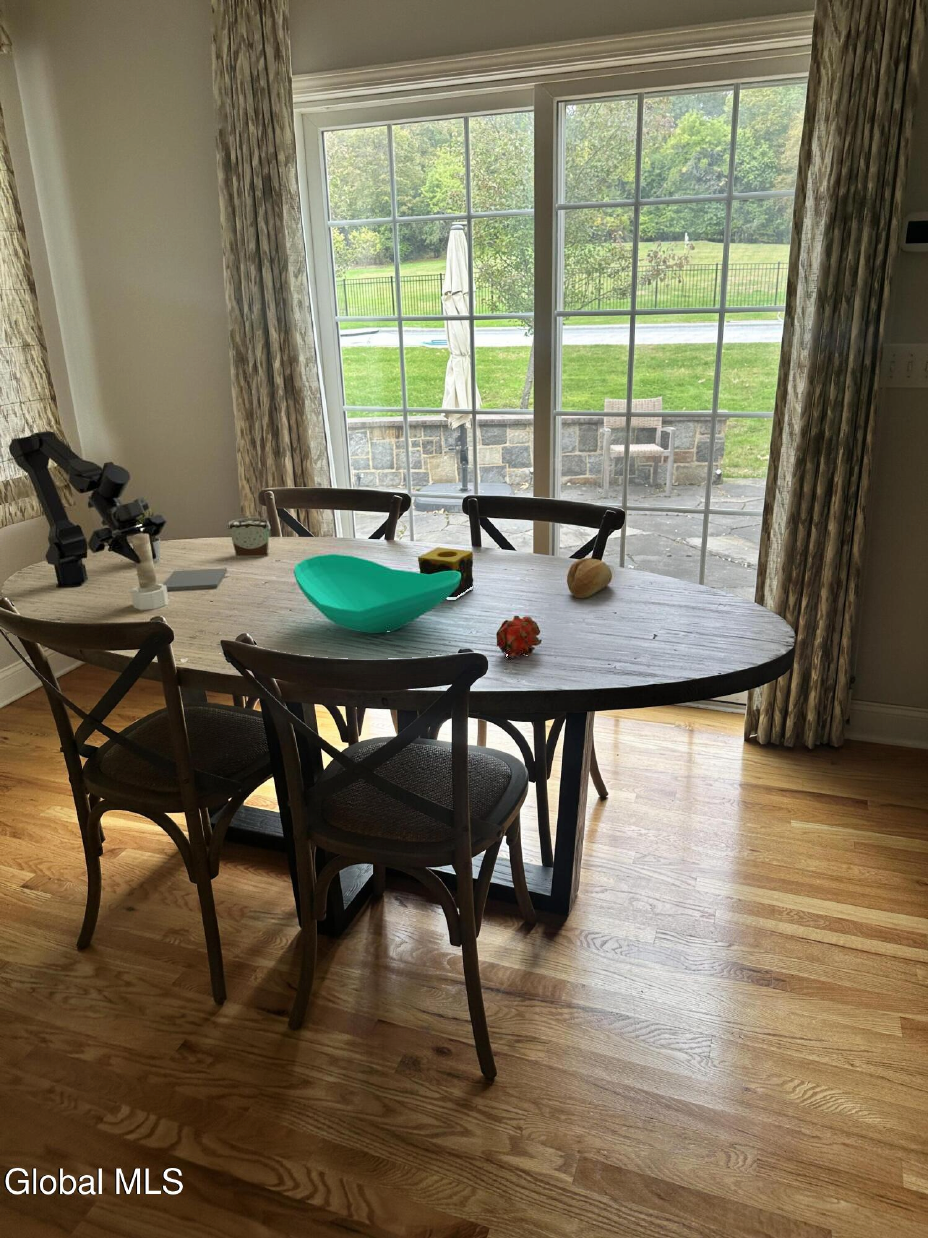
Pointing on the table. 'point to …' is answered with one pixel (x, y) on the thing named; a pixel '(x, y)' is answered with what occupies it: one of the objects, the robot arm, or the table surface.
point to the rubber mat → (195, 579)
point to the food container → (250, 536)
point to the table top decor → (370, 591)
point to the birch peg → (144, 560)
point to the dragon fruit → (518, 636)
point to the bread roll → (588, 577)
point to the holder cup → (150, 597)
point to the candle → (449, 565)
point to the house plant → (155, 540)
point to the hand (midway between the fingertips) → (147, 560)
